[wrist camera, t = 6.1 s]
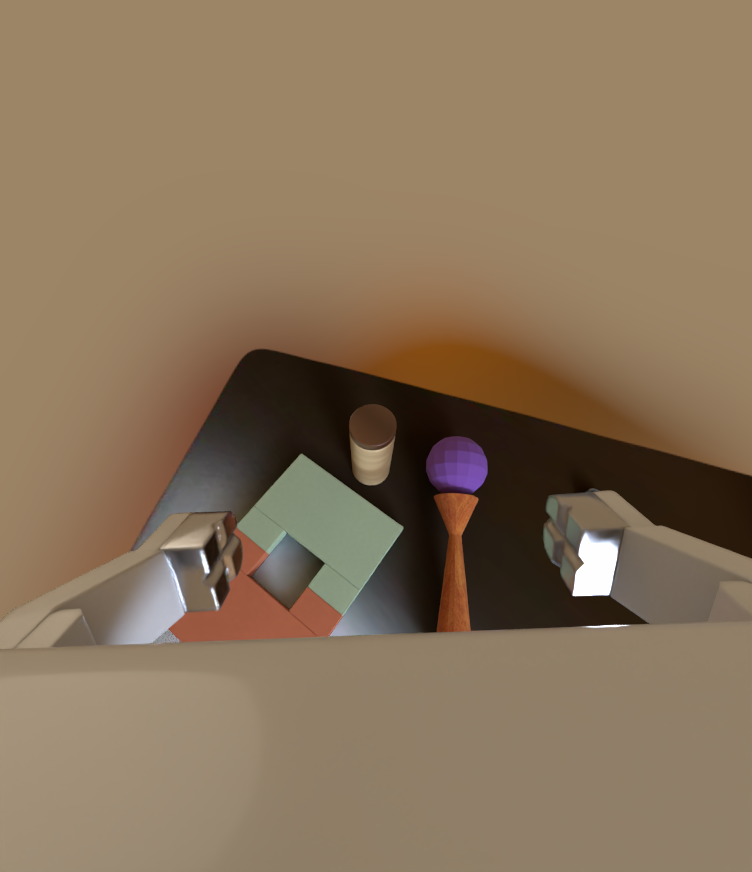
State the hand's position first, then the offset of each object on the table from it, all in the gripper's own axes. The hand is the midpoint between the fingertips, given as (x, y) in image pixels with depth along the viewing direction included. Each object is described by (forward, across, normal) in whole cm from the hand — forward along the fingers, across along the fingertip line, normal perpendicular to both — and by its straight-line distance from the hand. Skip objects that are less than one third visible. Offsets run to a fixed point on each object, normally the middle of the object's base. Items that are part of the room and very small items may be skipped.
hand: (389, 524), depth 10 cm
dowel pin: (+28, +2, +12) cm, 30 cm away
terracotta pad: (+17, +13, +21) cm, 30 cm away
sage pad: (+23, +7, +16) cm, 29 cm away
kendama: (+23, -5, +18) cm, 29 cm away
